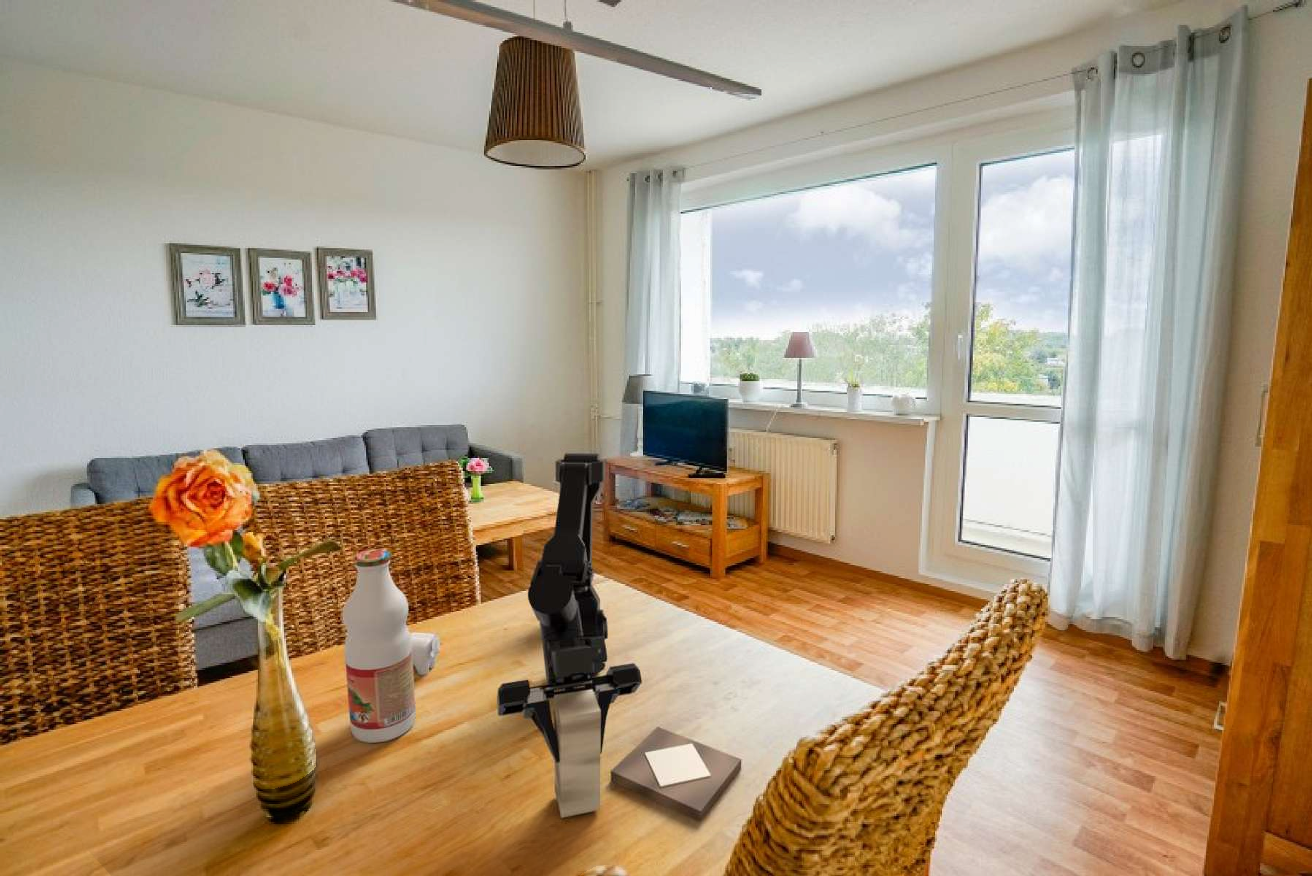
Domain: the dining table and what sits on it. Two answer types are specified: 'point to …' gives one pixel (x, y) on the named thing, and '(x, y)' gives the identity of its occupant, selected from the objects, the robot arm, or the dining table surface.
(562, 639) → the robot arm
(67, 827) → the dining table surface
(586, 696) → the birch pillar block
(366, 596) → the fruit juice
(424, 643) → the elephant figurine
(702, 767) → the walnut base board
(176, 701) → the dining table surface
